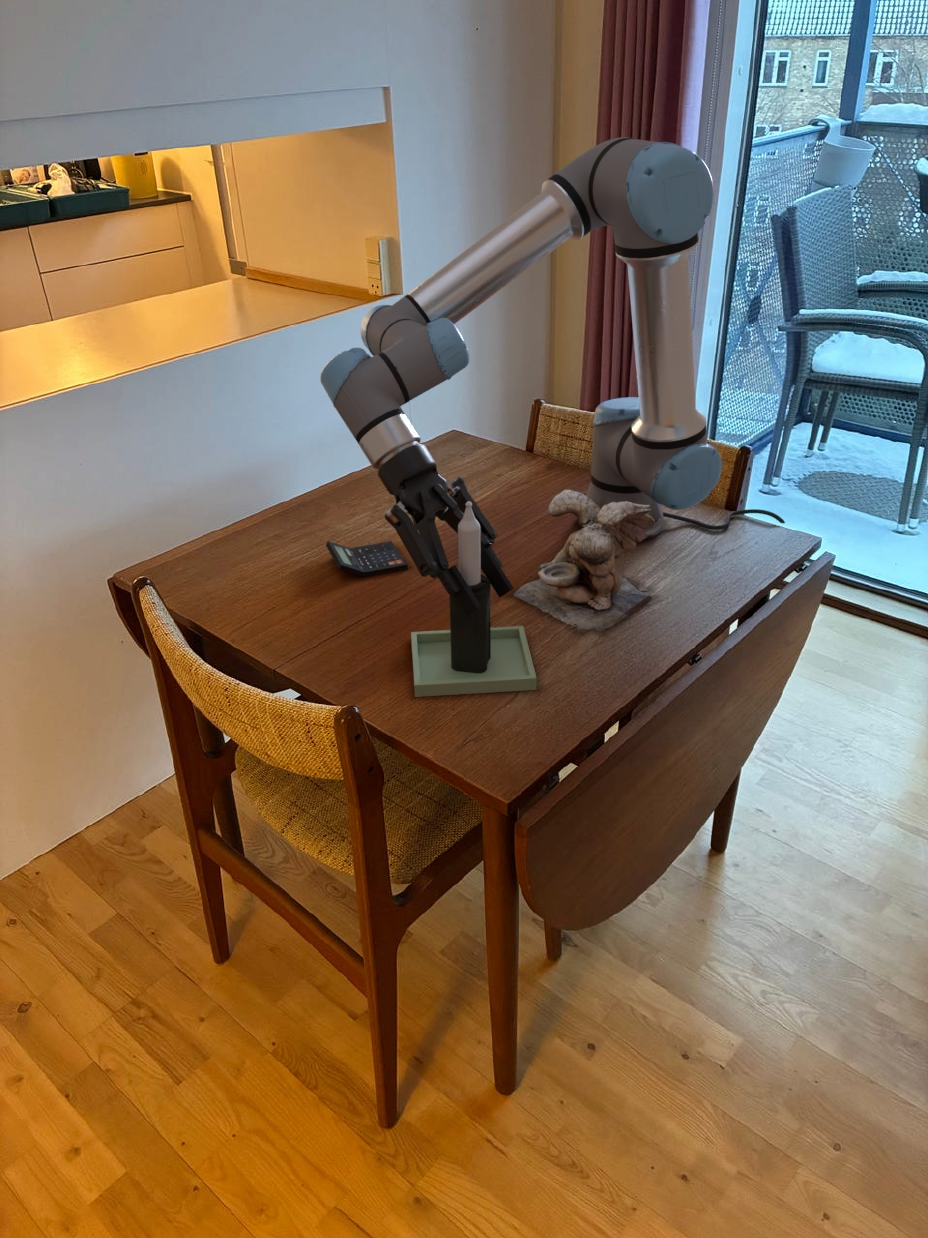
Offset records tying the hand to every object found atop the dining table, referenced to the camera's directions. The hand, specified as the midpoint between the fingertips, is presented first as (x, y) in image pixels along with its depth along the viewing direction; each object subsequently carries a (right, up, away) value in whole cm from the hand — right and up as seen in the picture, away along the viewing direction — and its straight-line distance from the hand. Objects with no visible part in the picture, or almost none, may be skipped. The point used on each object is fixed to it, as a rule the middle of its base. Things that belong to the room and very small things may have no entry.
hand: (490, 602), depth 128 cm
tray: (-3, -9, +8) cm, 12 cm away
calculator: (-20, +7, +36) cm, 42 cm away
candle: (-3, -9, +8) cm, 12 cm away
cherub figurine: (+15, +1, +25) cm, 29 cm away
